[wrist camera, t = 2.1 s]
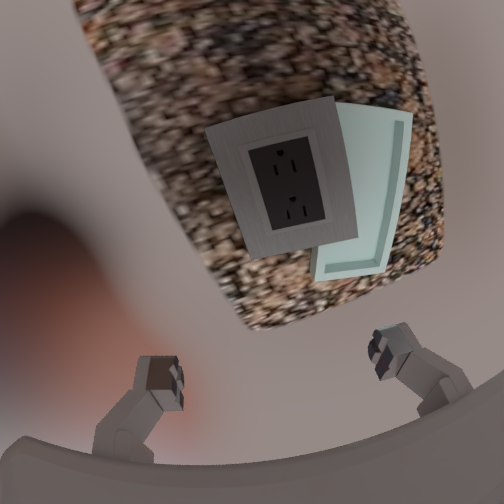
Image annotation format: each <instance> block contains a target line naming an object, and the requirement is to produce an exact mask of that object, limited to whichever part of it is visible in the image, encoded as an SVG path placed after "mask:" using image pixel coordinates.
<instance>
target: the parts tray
mask: <svg viewBox="0 0 504 504" xmlns="http://www.w3.org/2000/svg"><path fill="white" fill-rule="evenodd" d="M335 104H336V108H337V112H338V116H339V120H340V125H341V129H342V134H343V139H344V144H345V149H346V154H347V159H348V165H349V171H350V177H351V183H352V190H353V196H354V204H355V211H356V219H357V228H358V237H359V238H354V239H350V240H345V241H340V242H335V243H331V244H326V245H321V246H316V247H312V251H311V261H310V270H309V271H310V273H311V275H312V278H313V280H314V282H317V281H325V280H333V279H341V278H348V277H356V276H363V275H370V274H377V273H384V272H385V269H386V265H387V262H388V258H389V254H390V250H391V247H392V242H393V238H394V234H395V230H396V225H397V221H398V216H399V211H400V206H401V201H402V196H403V190H404V185H405V178H406V172H407V165H408V158H409V150H410V141H411V131H412V119H413V113H410V112H406V111H402V110H396V109H390V108H384V107H377V106H370V105H363V104H354V103H344V102H335Z"/></svg>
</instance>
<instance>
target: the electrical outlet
mask: <svg viewBox="0 0 504 504" xmlns="http://www.w3.org/2000/svg"><path fill="white" fill-rule="evenodd" d="M204 130H205V133H206V136H207V138H208V141H209V144H210V147H211V150H212V152H213V155H214V158H215V161H216V163H217V166H218V169H219V172H220V175H221V177H222V180H223V183H224V186H225V188H226V191H227V194H228V197H229V199H230V202H231V205H232V208H233V211H234V213H235V216H236V219H237V222H238V224H239V227H240V230H241V233H242V235H243V238H244V241H245V244H246V246H247V249H248V252H249V255H250V257H251V260H253V259H258V258H263V257H268V256H273V255H278V254H283V253H288V252H292V251H297V250H302V249H307V248H312V247H316V246H321V245H326V244H331V243H335V242H340V241H345V240H350V239H354V238H359V237H358V228H357V219H356V211H355V204H354V196H353V190H352V183H351V177H350V171H349V165H348V159H347V154H346V149H345V144H344V139H343V134H342V129H341V125H340V120H339V116H338V112H337V108H336V104H335V100H334V96H327V97H322V98H316V99H311V100H306V101H301V102H296V103H292V104H287V105H283V106H279V107H275V108H271V109H267V110H263V111H259V112H255V113H252V114H248V115H245V116H241V117H238V118H234V119H231V120H228V121H225V122H222V123H218V124H215V125H212V126H209V127H206V128H204Z"/></svg>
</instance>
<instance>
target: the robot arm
mask: <svg viewBox="0 0 504 504" xmlns="http://www.w3.org/2000/svg"><path fill="white" fill-rule="evenodd" d="M373 337H374V338H373V339H372V340H371V341H370V342H369V345H368V354H369V358H370V360H371V362H373V363H374V364H376V366H375V371H376V373H377V375H378V378H379V380H380V381H382V380H386V379H389V378H393V377H396V378H397V379H398V380H400V381H401V382H402V383H404V384H405V385H406V386H407V387H408V388H410V389H411V390H412V391H413V392H415V393H416V394H417V395H418V396H420V397H421V398H422V399H423V401H422V402H421V403H420V404H419V406H418V407H417V411H418V413H419V416H420V418H419V419H416V420H414V421H412V422H409V423H407V424H405V425H402V426H400V427H397V428H395V429H392V430H390V431H387V432H384V433H381V434H378V435H375V436H373V437H370V438H367V439H363V440H360V441H357V442H354V443H350V444H347V445H343V446H340V447H336V448H332V449H328V450H324V451H319V452H315V453H310V454H306V455H300V456H295V457H289V458H283V459H277V460H269V461H262V462H252V463H241V464H228V465H227V464H226V465H169V464H154V453H153V452H152V450H150V449H149V448H148V447H147V446H146V445H144V444H143V442H144V441H145V439H146V438H147V437H148V435H149V434H150V432H151V431H152V429H153V428H154V426H155V424H156V423H157V422H158V420H159V419H160V417H161V416H162V414H163V413H164V412H163V411H183V406H184V397H183V394H182V392H181V391H182V390H183V389H184V374H183V371H182V367H181V366H179V365H178V363H179V360H178V358H177V356H140V357H139V359H138V362H137V367H136V373H135V378H134V384H133V390H129V391H128V392H127V393H126V394H125V395H124V396H123V397H122V398H121V400H120V401H119V402H118V403H117V404H116V405H115V406H114V407H113V408H112V409H111V410H110V411H109V413H108V414H107V415H106V416H105V417H104V418H103V419H102V420H101V421H100V423H98V425H97V426H96V430H95V436H94V443H93V449H92V454H88V453H83V452H79V451H75V450H71V449H68V448H64V447H60V446H57V445H54V444H50V443H47V442H44V441H41V440H38V439H35V438H33V437H29V436H22V437H21V438H19V439H18V440H17V441H15V442H14V443H13V444H12V445H11V446H10V447H9V448H8V449H6V451H5V452H4V453H3V455H2V457H1V459H0V504H504V370H503V371H501V372H500V373H498V374H497V375H496V376H494V377H493V378H491V379H490V380H488V381H487V382H485V383H483V384H482V385H480V386H479V387H477V388H476V389H473V387H472V386H471V384H470V382H469V381H468V379H467V377H466V375H465V373H464V372H463V370H462V369H461V368H459V367H458V366H456V365H454V364H452V363H451V362H449V361H447V360H446V359H444V358H442V357H441V356H439V355H437V354H435V353H434V352H432V351H430V350H428V349H427V348H422V346H421V345H420V343H419V342H418V340H417V338H416V337H415V335H414V334H413V332H412V330H411V329H410V327H409V326H408V324H407V323H405V322H403V323H399V324H396V325H390V326H387V327H383V328H379V329H376V330H375V331H374V332H373Z"/></svg>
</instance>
